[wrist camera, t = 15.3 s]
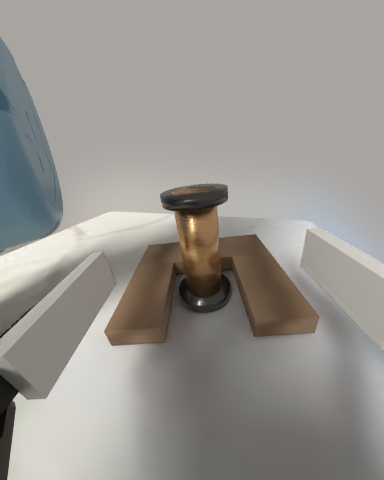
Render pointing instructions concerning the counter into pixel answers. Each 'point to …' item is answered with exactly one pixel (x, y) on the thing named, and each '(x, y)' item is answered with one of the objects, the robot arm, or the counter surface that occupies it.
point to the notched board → (231, 257)
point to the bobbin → (199, 244)
